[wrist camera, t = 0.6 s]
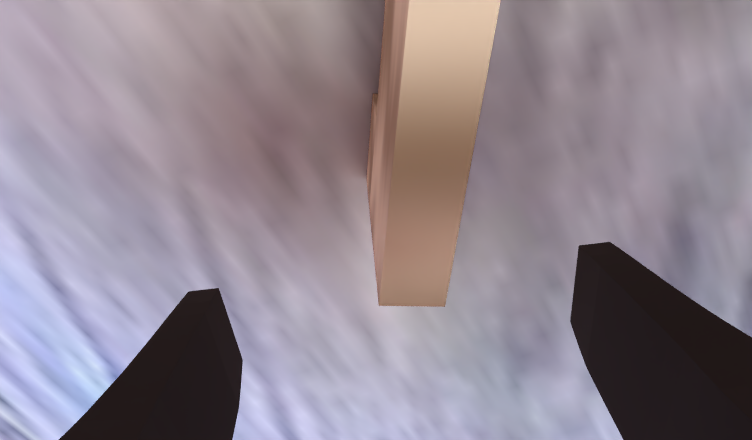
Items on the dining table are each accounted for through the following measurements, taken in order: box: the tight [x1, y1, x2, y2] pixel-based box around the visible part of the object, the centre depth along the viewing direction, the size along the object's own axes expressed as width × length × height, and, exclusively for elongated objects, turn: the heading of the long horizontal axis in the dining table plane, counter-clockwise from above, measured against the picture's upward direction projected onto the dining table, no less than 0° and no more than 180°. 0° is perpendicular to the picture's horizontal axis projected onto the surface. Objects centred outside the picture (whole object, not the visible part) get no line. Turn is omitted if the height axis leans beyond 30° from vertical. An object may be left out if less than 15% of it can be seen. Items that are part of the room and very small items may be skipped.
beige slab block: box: [367, 0, 501, 307], centre depth 16 cm, size 10×2×7 cm, turn 175°
